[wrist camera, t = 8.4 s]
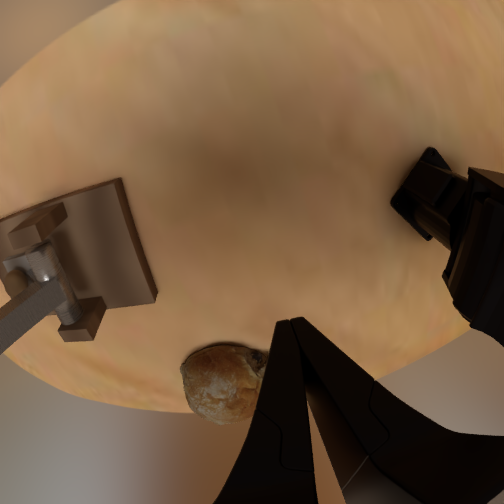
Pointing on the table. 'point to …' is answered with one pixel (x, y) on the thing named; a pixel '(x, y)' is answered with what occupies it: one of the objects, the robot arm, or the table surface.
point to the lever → (39, 296)
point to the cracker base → (82, 252)
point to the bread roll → (223, 382)
